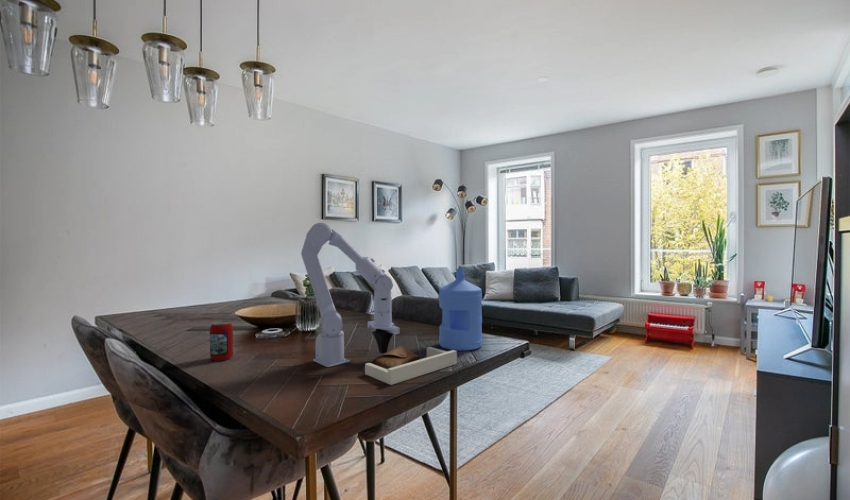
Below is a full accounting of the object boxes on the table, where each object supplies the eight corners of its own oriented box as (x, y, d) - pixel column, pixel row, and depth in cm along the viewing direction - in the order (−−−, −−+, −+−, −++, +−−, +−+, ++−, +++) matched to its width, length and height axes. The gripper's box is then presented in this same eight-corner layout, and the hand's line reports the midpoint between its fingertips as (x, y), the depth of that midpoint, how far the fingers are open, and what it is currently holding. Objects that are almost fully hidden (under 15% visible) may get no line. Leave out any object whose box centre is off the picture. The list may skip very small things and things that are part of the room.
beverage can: (205, 361, 129) (204, 324, 128) (220, 355, 135) (220, 319, 135) (223, 362, 127) (222, 324, 127) (237, 356, 134) (237, 320, 133)
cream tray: (365, 374, 115) (365, 360, 115) (429, 355, 133) (429, 343, 133) (391, 384, 106) (391, 370, 106) (456, 363, 124) (456, 351, 124)
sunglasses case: (397, 372, 116) (386, 352, 117) (379, 382, 118) (368, 361, 120) (421, 356, 133) (412, 338, 134) (405, 364, 135) (396, 347, 136)
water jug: (460, 338, 157) (460, 266, 156) (491, 346, 145) (491, 269, 144) (430, 345, 147) (429, 268, 146) (460, 354, 135) (460, 271, 134)
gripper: (406, 312, 127) (407, 354, 128) (379, 307, 138) (379, 346, 138) (389, 315, 123) (389, 359, 123) (362, 309, 133) (362, 350, 133)
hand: (383, 352), depth 130 cm, fingers closed
